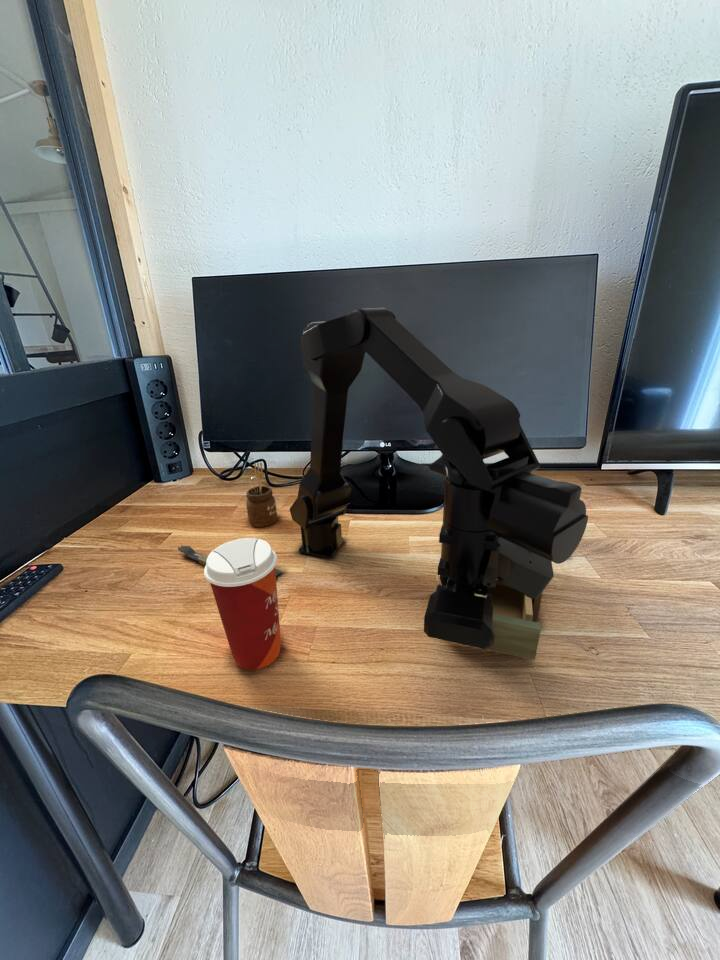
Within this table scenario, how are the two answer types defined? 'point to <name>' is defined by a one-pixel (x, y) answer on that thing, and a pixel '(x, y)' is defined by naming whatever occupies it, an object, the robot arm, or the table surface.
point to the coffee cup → (247, 599)
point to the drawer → (513, 623)
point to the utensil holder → (260, 503)
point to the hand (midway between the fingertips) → (461, 631)
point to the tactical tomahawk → (201, 558)
